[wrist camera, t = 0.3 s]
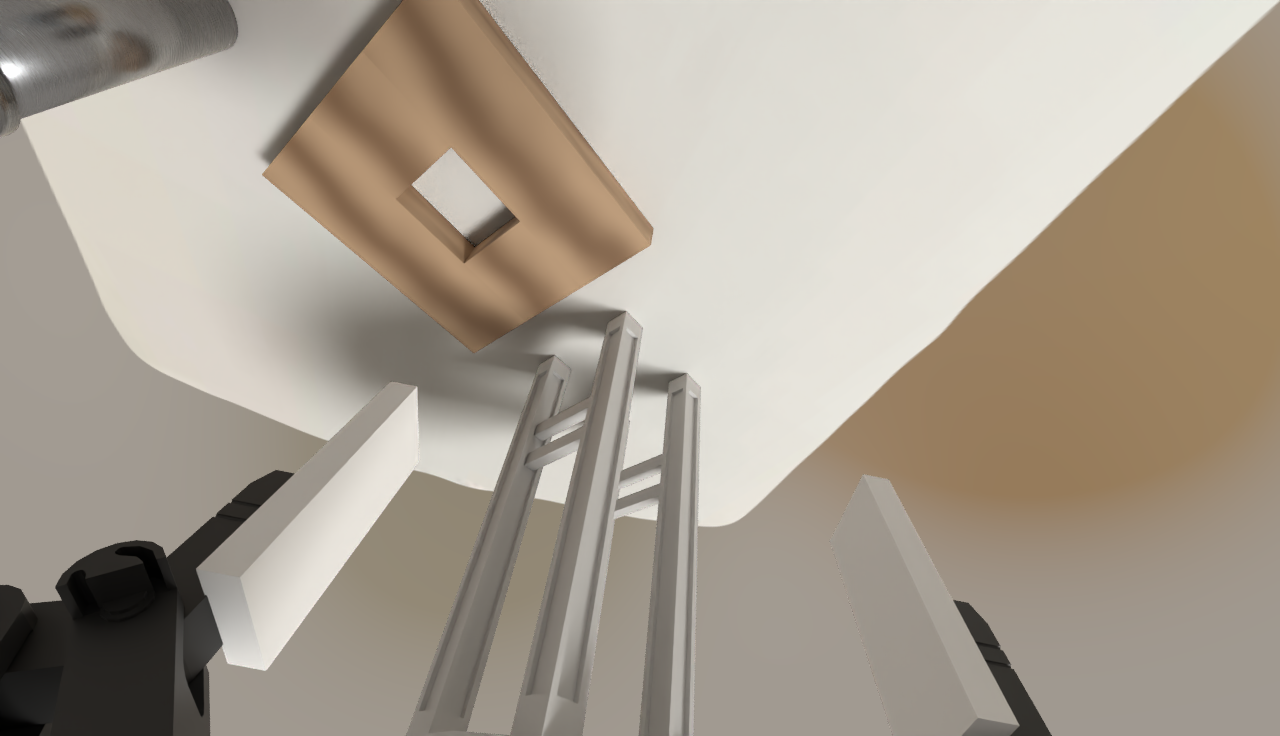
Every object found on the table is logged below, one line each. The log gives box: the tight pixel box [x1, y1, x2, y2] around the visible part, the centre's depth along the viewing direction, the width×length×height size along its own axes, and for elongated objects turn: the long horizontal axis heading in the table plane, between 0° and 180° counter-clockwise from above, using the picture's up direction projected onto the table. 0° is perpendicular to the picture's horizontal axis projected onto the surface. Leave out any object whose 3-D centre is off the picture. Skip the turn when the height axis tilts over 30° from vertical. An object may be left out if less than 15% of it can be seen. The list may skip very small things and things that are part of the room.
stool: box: [406, 311, 701, 736], centre depth 38 cm, size 16×16×35 cm
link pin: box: [0, 0, 238, 138], centre depth 26 cm, size 5×5×16 cm
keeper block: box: [262, 0, 653, 353], centre depth 38 cm, size 20×20×2 cm
